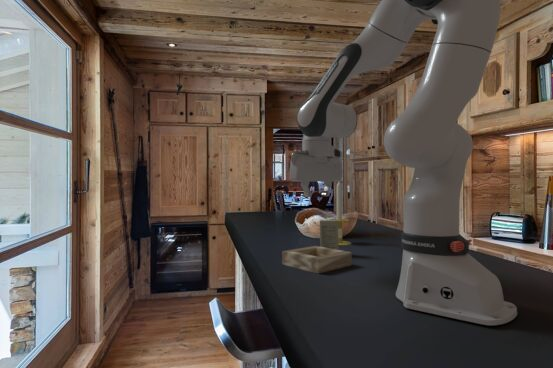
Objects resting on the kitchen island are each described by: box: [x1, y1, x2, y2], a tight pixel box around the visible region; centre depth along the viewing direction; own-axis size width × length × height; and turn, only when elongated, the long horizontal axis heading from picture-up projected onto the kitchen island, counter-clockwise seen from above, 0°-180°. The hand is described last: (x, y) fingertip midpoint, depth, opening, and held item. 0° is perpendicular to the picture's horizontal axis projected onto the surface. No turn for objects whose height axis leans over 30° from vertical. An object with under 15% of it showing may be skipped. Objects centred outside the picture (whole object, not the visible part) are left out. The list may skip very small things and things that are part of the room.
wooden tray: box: [281, 245, 353, 274], centre depth 108 cm, size 15×15×4 cm
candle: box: [328, 180, 352, 246], centre depth 146 cm, size 10×10×27 cm
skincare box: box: [319, 219, 340, 250], centre depth 124 cm, size 6×4×12 cm
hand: (316, 196), depth 108 cm, fingers open, 7 cm apart
